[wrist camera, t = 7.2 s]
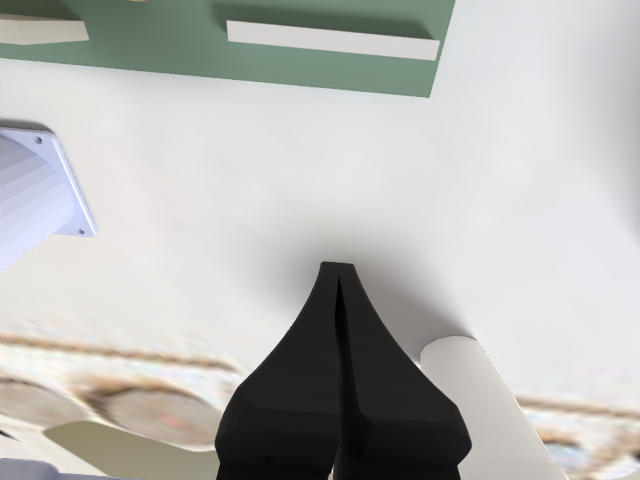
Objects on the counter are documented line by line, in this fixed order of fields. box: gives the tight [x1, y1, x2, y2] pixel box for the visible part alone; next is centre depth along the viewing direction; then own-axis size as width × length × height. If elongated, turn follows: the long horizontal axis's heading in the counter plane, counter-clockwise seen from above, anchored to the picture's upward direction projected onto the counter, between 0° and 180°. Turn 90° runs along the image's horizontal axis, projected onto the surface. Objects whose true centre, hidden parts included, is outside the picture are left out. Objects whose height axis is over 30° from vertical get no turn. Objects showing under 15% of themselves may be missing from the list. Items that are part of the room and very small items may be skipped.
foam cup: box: [420, 336, 569, 480], centre depth 26 cm, size 10×9×13 cm
